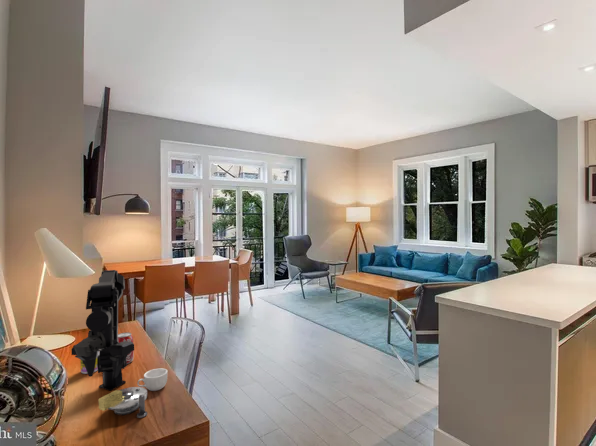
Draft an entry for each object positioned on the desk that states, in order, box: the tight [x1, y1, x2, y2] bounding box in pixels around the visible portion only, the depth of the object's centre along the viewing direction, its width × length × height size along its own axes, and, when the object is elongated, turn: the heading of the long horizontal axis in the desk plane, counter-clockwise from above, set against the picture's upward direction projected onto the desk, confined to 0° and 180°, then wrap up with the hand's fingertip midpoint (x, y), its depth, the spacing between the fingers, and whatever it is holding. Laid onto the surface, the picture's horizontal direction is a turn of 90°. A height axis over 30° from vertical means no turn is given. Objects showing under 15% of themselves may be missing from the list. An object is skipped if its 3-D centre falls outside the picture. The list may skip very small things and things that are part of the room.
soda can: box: [118, 332, 135, 365], centre depth 145 cm, size 7×7×12 cm
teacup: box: [136, 367, 169, 392], centre depth 121 cm, size 10×8×5 cm
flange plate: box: [98, 386, 148, 412], centre depth 107 cm, size 14×12×4 cm
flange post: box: [113, 405, 139, 416], centre depth 108 cm, size 7×7×2 cm
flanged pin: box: [136, 395, 148, 419], centre depth 104 cm, size 3×3×6 cm
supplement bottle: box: [79, 351, 100, 375], centre depth 137 cm, size 7×7×13 cm
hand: (103, 376), depth 105 cm, fingers open, 9 cm apart
